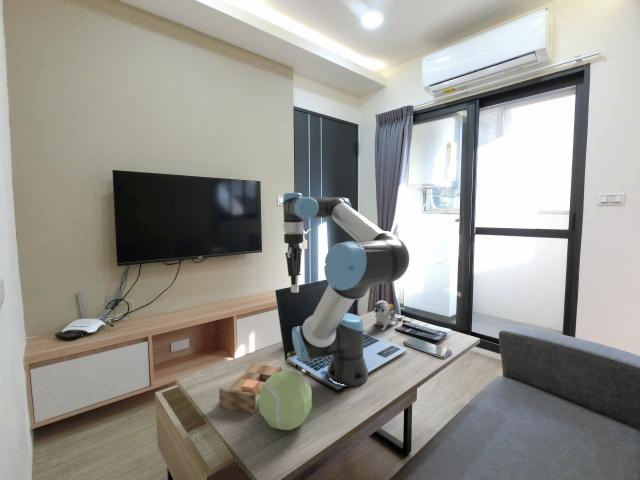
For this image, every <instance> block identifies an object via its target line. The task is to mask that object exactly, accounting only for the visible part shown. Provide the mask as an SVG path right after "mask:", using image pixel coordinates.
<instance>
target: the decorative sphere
mask: <svg viewBox="0 0 640 480" xmlns="http://www.w3.org/2000/svg"><path fill="white" fill-rule="evenodd" d="M312 392H313V391H312V387H311V385H310V384H309V382H308V380H307V379H306V378H305V377H304V376H303V374H301V373H299V372H298V371H295V370H294V371H293V370H290V369H285V370H282V371H281V372H278V373H275V374H273V375H272V376H271V377H270V378H268V379H267V380H266V382H265V383H264V384H263V386H262V389H261V391H260V396H259V408H258V410H259V413H260V414H261V416H262V417H263V419H264V420H265V421H266V422H267V424H268V425H269V427H271V428H272V429H278V430H283V431H292V430H293V429H297V428H298V427H299V426H301V425H302V424H303V423H304V422H305V421H306V419H307V418H308V416H309V413H310V412H311V409H312V407H313V393H312Z"/></svg>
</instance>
